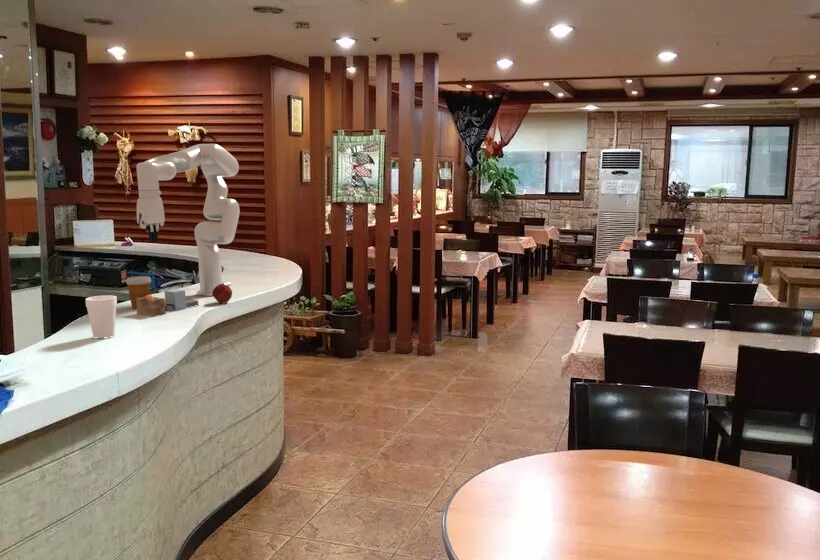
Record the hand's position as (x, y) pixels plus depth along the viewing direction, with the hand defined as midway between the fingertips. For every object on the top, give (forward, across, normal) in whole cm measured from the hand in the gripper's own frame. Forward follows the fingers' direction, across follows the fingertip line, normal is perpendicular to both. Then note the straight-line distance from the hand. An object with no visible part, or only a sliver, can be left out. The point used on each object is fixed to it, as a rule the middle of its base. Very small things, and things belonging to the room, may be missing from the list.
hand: (153, 241), depth 289 cm
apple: (+27, -19, +15) cm, 36 cm away
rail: (+26, -4, +8) cm, 28 cm away
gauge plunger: (+22, +10, +8) cm, 26 cm away
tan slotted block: (+26, +10, +8) cm, 29 cm away
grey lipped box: (+26, -1, +8) cm, 28 cm away
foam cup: (+25, +44, +26) cm, 57 cm away
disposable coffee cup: (+26, +4, -7) cm, 28 cm away
